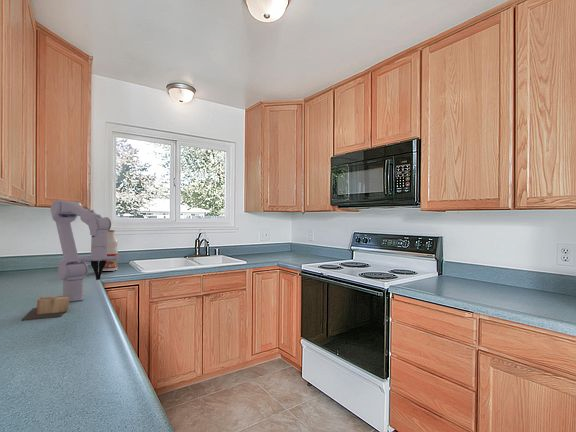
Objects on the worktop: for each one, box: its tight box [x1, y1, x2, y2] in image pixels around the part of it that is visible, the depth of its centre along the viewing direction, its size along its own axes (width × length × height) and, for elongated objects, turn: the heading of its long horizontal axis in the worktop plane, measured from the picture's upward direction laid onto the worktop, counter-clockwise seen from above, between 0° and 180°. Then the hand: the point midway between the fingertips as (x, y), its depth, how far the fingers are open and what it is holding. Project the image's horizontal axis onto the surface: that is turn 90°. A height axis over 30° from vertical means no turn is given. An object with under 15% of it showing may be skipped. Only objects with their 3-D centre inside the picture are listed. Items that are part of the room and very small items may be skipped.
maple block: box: [36, 295, 70, 314], centre depth 118 cm, size 5×5×9 cm
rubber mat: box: [21, 307, 64, 322], centre depth 117 cm, size 16×11×1 cm
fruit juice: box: [102, 229, 119, 271], centre depth 213 cm, size 9×9×28 cm
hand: (98, 279), depth 129 cm, fingers closed
